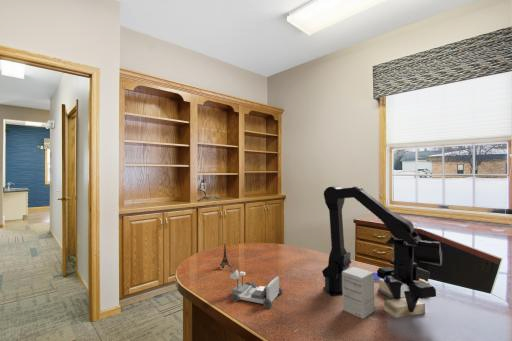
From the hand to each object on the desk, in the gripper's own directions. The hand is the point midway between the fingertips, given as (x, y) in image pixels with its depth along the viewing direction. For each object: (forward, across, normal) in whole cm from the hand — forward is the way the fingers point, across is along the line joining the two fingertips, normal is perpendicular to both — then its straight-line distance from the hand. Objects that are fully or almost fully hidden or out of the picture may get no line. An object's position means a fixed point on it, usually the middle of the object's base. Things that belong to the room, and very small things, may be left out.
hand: (404, 307), depth 86 cm
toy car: (+2, +23, +44) cm, 50 cm away
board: (+1, 0, 0) cm, 1 cm away
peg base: (+1, +11, -10) cm, 15 cm away
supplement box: (+1, +4, +14) cm, 15 cm away
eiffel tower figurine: (+2, +56, +51) cm, 76 cm away
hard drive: (+2, +23, -13) cm, 27 cm away
